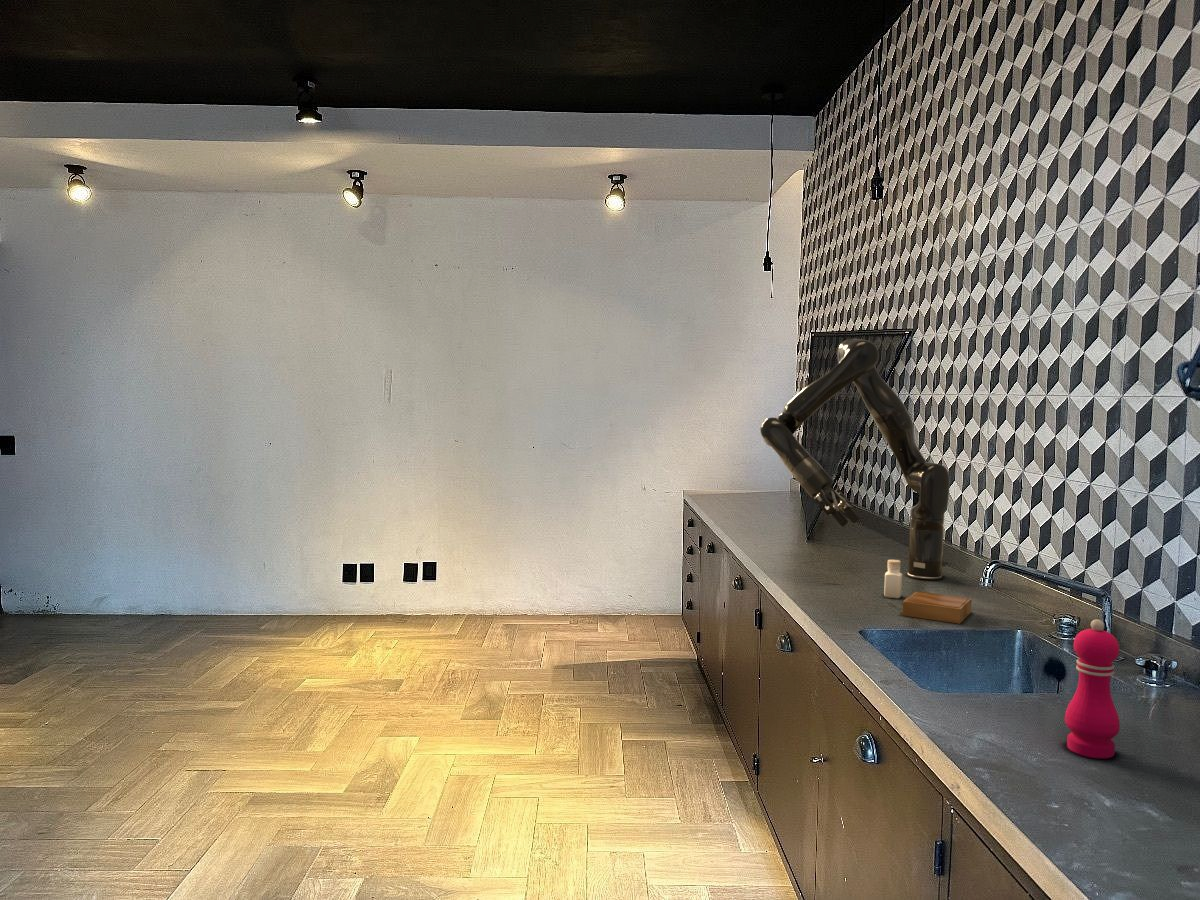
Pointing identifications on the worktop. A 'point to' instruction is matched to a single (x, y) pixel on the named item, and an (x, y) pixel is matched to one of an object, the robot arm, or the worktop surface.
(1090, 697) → the pepper mill
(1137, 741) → the worktop surface
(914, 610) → the riser
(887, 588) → the pepper shaker
